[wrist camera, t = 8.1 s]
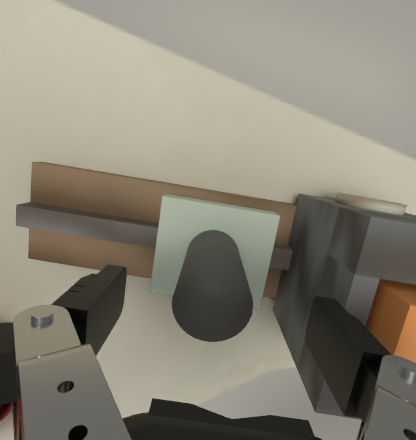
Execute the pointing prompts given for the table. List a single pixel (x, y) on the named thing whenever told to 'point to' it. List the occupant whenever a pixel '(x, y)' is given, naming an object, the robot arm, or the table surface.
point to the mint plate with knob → (212, 263)
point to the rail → (289, 213)
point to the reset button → (394, 318)
